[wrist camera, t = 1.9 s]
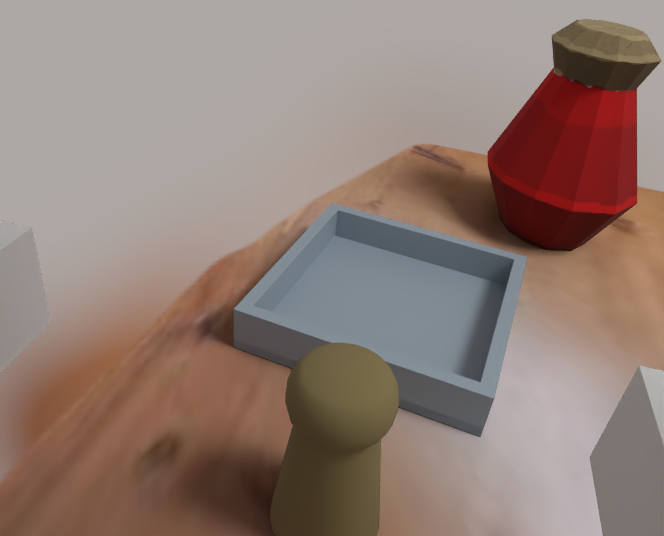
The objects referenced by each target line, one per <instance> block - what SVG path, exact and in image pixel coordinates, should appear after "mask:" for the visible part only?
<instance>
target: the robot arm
mask: <svg viewBox="0 0 664 536" xmlns="http://www.w3.org/2000/svg"><path fill="white" fill-rule="evenodd" d="M50 324H51V319H50V313H49V309H48V304H47V299H46V294H45V289H44V284H43V279H42V274H41V269H40V264H39V259H38V254H37V249H36V244H35V239H34V235H33V230H32V228H31V227H27V226H23V225H18V224H14V223H9V222H5V221H0V372H1V371H2V370H3V369H4V368H5V367H6V366H7V365H8V364H9V363H11V362H12V361H13V360H14V359H15V358H16V357H17V355H19V354H20V353H21V352H22V351H23V350H24V349H25V348H26V347H27V346H28V345H29V344H30V343H31V342H32V341H33V340H34V339H35V338H36V337H37V336H38V335H39V334H40V333H41V332H43V331H44V329H46V328H47V327H48V326H49V325H50ZM590 462H591V468H592V474H593V479H594V485H595V491H596V497H597V503H598V509H599V515H600V521H601V526H602V532H603V536H664V371H661V370H657V369H652V368H648V367H644V366H639V367H638V369H637V371H636V372H635V374H634V376H633V378H632V380H631V382H630V383H629V385H628V387H627V389H626V391H625V393H624V395H623V396H622V398H621V400H620V402H619V404H618V406H617V408H616V409H615V411H614V413H613V415H612V417H611V419H610V420H609V422H608V424H607V426H606V428H605V430H604V432H603V433H602V435H601V437H600V439H599V441H598V443H597V445H596V446H595V448H594V450H593V452H592V454H591V456H590Z"/></svg>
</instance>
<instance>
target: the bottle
mask: <svg viewBox="0 0 664 536" xmlns="http://www.w3.org/2000/svg"><path fill="white" fill-rule="evenodd" d="M552 45H553V60H554V68H553V69H552V70H551V72H550V73H549V74H548V76H547V77H546V78H545V79H544V81H543V82H542V83H541V84H540V86H539V87H538V88H537V90H536V91H535V92H534V93H533V95H532V96H531V97H530V99H529V100H528V101H527V102H526V104H525V105H524V106H523V107H522V109H521V110H520V111H519V113H518V114H517V115H516V116H515V118H514V119H513V120H512V121H511V123H510V124H509V125H508V127H507V128H506V129H505V130H504V132H503V133H502V134H501V135H500V137H499V138H498V139H497V141H496V142H495V143H494V144H493V146H492V147H491V148H490V150H489V151H488V167H489V172H490V176H491V180H492V185H493V189H494V193H495V197H496V202H497V206H498V210H499V215H500V219H501V221H502V222H503V224H504V225H505V226H506V228H507V229H508V230H509V232H511V233H513V234H514V235H516V236H518V237H519V238H521V239H523V240H524V241H526V242H528V243H531V244H533V245H536V246H539V247H541V248H544V249H547V250H565V251H572V250H573V249H575V248H577V247H579V246H581V245H583V244H585V243H586V242H587V241H589V240H590V239H591V238H592V237H594V236H595V235H596V234H598V233H599V232H600V231H602V230H603V229H604V228H605V227H607V226H608V225H609V224H611V223H612V222H613V221H615V220H616V219H617V218H618V217H620V216H621V215H622V214H624V213H625V212H626V211H628V210H629V209H630V208H632V207H633V206H634V205H635V204H637V87H638V86H639V85H640V84H641V83H642V82H643V81H644V80H645V79H646V77H647V76H648V75H649V74H650V73H651V72H652V70H654V69H655V67H656V66H657V65H658V64H659V63H660V62H661V59H660V57H659V55H658V54H657V52H656V50H655V48H654V46H653V45H652V43H651V41H650V39H649V37H648V36H647V34H645V33H644V32H643V31H640V30H638V29H635V28H633V27H629V26H625V25H621V24H618V23H613V22H608V21H601V20H591V19H583V20H576V21H575V22H573V23H571V24H570V25H568V26H566V27H565V28H563V29H561V30H560V31H558V32H557V33H555V34H553V35H552Z"/></svg>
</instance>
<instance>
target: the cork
mask: <svg viewBox="0 0 664 536" xmlns="http://www.w3.org/2000/svg"><path fill="white" fill-rule="evenodd" d="M285 402H286V405H287V409H288V413H289V416H290V420H291V423H292V425H293V427H292V430H291V434H290V437H289V441H288V445H287V448H286V452H285V455H284V459H283V462H282V466H281V470H280V473H279V477H278V480H277V484H276V487H275V491H274V494H273V498H272V502H271V509H270V516H269V517H270V522H271V527H272V532H273V534H274V536H376V535H377V532H378V529H379V512H380V458H381V439H382V438H383V437H384V436H385V435H386V433H387V432H388V431H389V429H390V428H391V426H392V424H393V422H394V419H395V417H396V414H397V411H398V407H399V393H398V383H397V380H396V378H395V376H394V374H393V372H392V370H391V369H390V367H389V365H388V364H387V363H386V362H385V361H384V360H383V359H382V358H381V357H380V356H379V355H378V354H376V353H374V352H373V351H371V350H369V349H368V348H365V347H362V346H358V345H355V344H349V343H331V344H324V345H322V346H319V347H316V348H314V349H312V350H311V351H309V352H308V353H307V354H305V355H304V356H303V357H302V358H301V359H300V360H298V362H297V363H296V365H295V366H294V368H293V369H292V371H291V373H290V375H289V378H288V382H287V388H286V400H285Z"/></svg>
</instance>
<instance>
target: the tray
mask: <svg viewBox="0 0 664 536" xmlns="http://www.w3.org/2000/svg"><path fill="white" fill-rule="evenodd" d="M527 258H528V257H526V256H522V255H519V254H515V253H511V252H508V251H504V250H501V249H497V248H493V247H490V246H486V245H482V244H479V243H475V242H472V241H468V240H464V239H461V238H457V237H453V236H450V235H446V234H443V233H439V232H435V231H432V230H428V229H425V228H421V227H417V226H414V225H410V224H406V223H403V222H399V221H396V220H392V219H388V218H385V217H381V216H377V215H374V214H370V213H367V212H363V211H359V210H356V209H352V208H349V207H345V206H341V205H338V204H334V203H331V204H330V205H329V207H328V208H327V209H326V210H325V211H324V212H323V213H322V214H321V215H320V216H319V217H318V218H317V220H316V221H315V222H314V223H313V224H312V225H311V226H310V227H309V228H308V229H307V230H306V231H305V232H304V234H303V235H302V236H301V237H300V238H299V239H298V240H297V241H296V242H295V243H294V244H293V245H292V247H291V248H290V249H289V250H288V251H287V252H286V253H285V254H284V255H283V256H282V257H281V258H280V260H279V261H278V262H277V263H276V264H275V265H274V266H273V267H272V268H271V269H270V270H269V271H268V273H267V274H266V275H265V276H264V277H263V278H262V279H261V280H260V281H259V282H258V283H257V284H256V286H255V287H254V288H253V289H252V290H251V291H250V292H249V293H248V294H247V295H246V296H245V297H244V299H243V300H242V301H241V302H240V303H239V304H238V305H237V306H236V307H235V308H234V347H235V348H237V349H240V350H243V351H246V352H248V353H251V354H254V355H257V356H259V357H262V358H265V359H268V360H270V361H273V362H276V363H279V364H281V365H284V366H287V367H290V368H292V369H293V368H294V366H295V365H296V363H297V362H298V360H300V359H301V358H302V357H303V356H304V355H305V354H307V353H308V352H309V351H311V350H312V349H314V348H316V347H319V346H322V345H324V344H331V343H349V344H355V345H358V346H362V347H365V348H368V349H369V350H371V351H373V352H374V353H376V354H378V355H379V356H380V357H381V358H382V359H383V360H384V361H385V362H386V363H387V364H388V365H389V367H390V369H391V370H392V372H393V374H394V376H395V378H396V380H397V383H398V393H399V407H400V408H403V409H405V410H408V411H411V412H414V413H416V414H419V415H422V416H425V417H427V418H430V419H433V420H436V421H438V422H441V423H444V424H447V425H449V426H452V427H455V428H458V429H460V430H463V431H466V432H469V433H471V434H474V435H477V436H480V437H481V434H482V431H483V428H484V426H485V423H486V420H487V417H488V414H489V411H490V409H491V406H492V403H493V400H494V397H495V393H496V388H497V384H498V380H499V376H500V371H501V367H502V363H503V359H504V355H505V350H506V346H507V342H508V338H509V334H510V329H511V325H512V321H513V317H514V313H515V308H516V304H517V300H518V296H519V292H520V287H521V283H522V279H523V275H524V271H525V266H526V262H527Z"/></svg>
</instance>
